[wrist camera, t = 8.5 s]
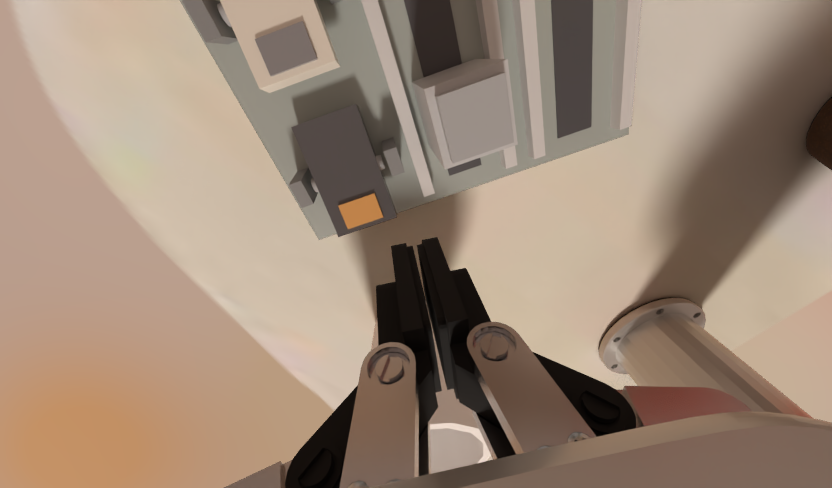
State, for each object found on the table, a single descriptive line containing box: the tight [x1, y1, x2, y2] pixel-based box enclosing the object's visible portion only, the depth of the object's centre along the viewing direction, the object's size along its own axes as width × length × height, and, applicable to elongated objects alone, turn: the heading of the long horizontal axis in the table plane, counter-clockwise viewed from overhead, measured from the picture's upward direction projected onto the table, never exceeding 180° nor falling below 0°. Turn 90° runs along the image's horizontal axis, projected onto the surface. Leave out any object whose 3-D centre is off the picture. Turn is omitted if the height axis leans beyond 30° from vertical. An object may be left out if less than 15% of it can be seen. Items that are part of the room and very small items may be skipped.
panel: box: [180, 0, 642, 240], centre depth 17 cm, size 18×24×5 cm
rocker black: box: [291, 104, 397, 237], centre depth 19 cm, size 7×5×1 cm, turn 17°
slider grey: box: [412, 59, 518, 170], centre depth 17 cm, size 4×4×6 cm
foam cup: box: [371, 303, 491, 474], centre depth 26 cm, size 10×9×13 cm
